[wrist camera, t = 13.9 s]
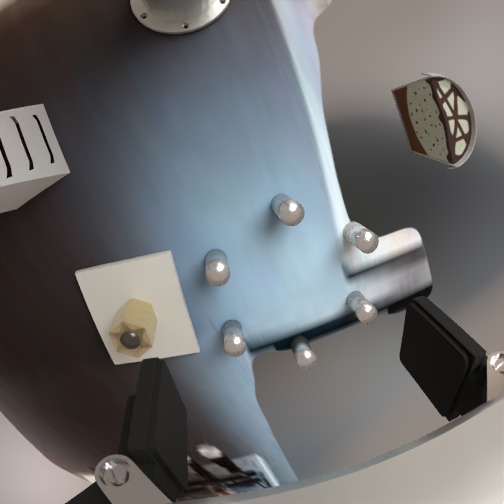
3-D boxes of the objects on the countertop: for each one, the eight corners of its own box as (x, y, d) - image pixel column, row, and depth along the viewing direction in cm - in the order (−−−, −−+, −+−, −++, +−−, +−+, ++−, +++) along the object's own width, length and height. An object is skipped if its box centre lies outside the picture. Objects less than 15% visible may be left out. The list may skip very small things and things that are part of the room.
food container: (440, 150, 40) (486, 158, 31) (412, 161, 40) (458, 171, 31) (418, 72, 36) (463, 65, 26) (387, 80, 36) (432, 71, 26)
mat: (77, 270, 39) (74, 273, 38) (170, 249, 40) (170, 252, 39) (115, 360, 45) (114, 364, 44) (199, 348, 46) (199, 352, 45)
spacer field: (194, 210, 39) (192, 220, 34) (358, 181, 40) (376, 187, 36) (231, 364, 48) (234, 385, 43) (361, 331, 49) (374, 349, 45)
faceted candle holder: (115, 300, 40) (103, 324, 34) (148, 294, 41) (140, 318, 35) (128, 334, 42) (120, 360, 37) (160, 329, 43) (156, 356, 37)
